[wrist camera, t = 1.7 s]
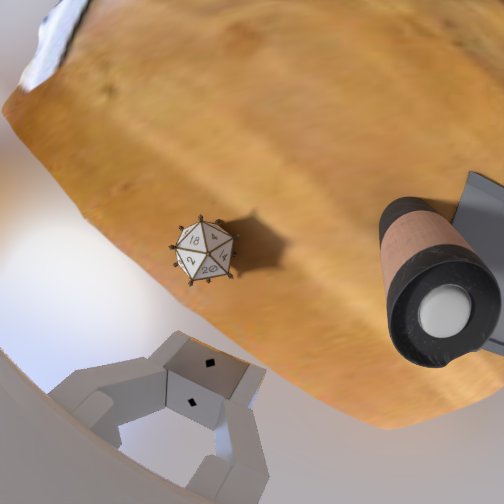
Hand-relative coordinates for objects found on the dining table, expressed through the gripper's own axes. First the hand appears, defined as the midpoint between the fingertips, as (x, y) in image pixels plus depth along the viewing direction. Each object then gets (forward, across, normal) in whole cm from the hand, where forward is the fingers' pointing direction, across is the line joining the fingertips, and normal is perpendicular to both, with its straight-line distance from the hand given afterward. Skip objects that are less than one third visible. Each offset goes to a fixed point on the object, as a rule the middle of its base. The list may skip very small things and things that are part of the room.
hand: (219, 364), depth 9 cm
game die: (+29, +12, +10) cm, 33 cm away
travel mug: (+29, -10, 0) cm, 31 cm away
